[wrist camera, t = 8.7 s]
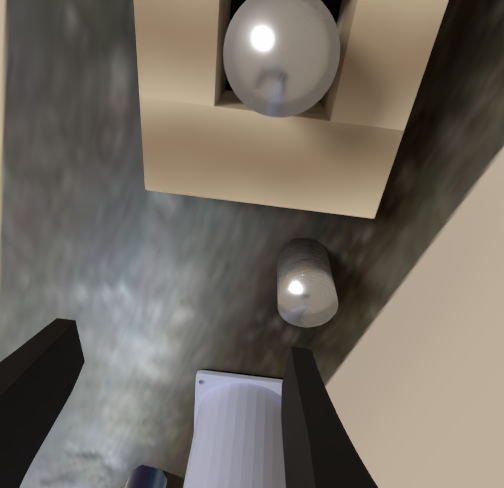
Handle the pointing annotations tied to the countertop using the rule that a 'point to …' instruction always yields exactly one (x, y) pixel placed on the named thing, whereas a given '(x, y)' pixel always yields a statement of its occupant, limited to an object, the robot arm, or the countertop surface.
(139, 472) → the white and blue bar
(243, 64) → the long steel pin
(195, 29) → the birch board
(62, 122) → the countertop surface
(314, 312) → the short steel pin
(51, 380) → the robot arm
